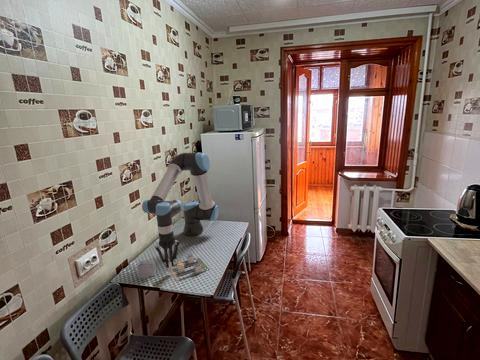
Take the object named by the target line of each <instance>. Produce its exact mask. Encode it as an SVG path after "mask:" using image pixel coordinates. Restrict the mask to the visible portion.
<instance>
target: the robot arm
mask: <svg viewBox="0 0 480 360" xmlns="http://www.w3.org/2000/svg"><path fill="white" fill-rule="evenodd" d="M210 162H211V161H210V159H209V156H208V155H207V154H206V153H205V152H181V153H179V154H177V155H176V156H174V157H173V158H172V159H171V160H170V161H169V162H168V165H167V166H166V167H167V169H166V172H165V173H164V175H163V177H162V178H161V180H160V182H159V183H158V185H157V187H156V188H155V191H154V192H153V194H152V196H151V197H150V199H144V201H143V202H142V205H141V209H142V211H143V212H144V213H145V214H149V215H153V214H155V216H156V221H157V233H158V240H159V242H158V245H155V246H154V248H155V250H156V251H157V253H158V256H159V258H160V260H161V262H162V263H163V264H165V268H166V269H168V270H167V271H168V273H169V274H172V273H173V272H172V266H173V265H174V260H177V258H178V250H179V249H178V248H179V244H180V243H181V242H180V241H179V240H176V239H175V235H174V226H173V217H175V216H177V215H178V214H180V213H181V212H182V211H183V216H184V225H183V230H182V231H183V235H185V236H188V237H195V236H199V235H202V234H203V233H204V226H203V225H202V223H201V221H206V222H207V221H208V222H213V221H214V222H215V221H216V220H217V219H218V217H219V214H220V206H219V205H217V204H216V202H215V200H213V199H212V194H211V190H210V185H209V180H208V176H207V175H208V174H207V173H208V171H209V169H210V167H211V165H210V164H211V163H210ZM183 171H189V173H190V175H191V176H192V177H193V179H194V183H195V188H196V190H197V194H198V199H199V201H190V202H186V203H185V204H183V202H182V200H180V199H178V198H177V199H176V198H175V199H173V200H166V198H168V195H169V194H170V192H171V189H172V188H173V186H174V184H175V182H176V180H177V179H178V177H179V175H181V174H182V172H183ZM202 232H203V233H202ZM161 248H162V249H163V253H164V255H163V253H162V251H161ZM173 267H174V266H173Z"/></svg>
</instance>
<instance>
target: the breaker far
mask: <svg viewBox="0 0 480 360" xmlns="http://www.w3.org/2000/svg"><path fill="white" fill-rule="evenodd" d="M194 258H195V257H194V255H193V254H190V253H189V254H188V255H186V261H187V262H186V263H187V264H190V263H193V262H195V260H194Z"/></svg>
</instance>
